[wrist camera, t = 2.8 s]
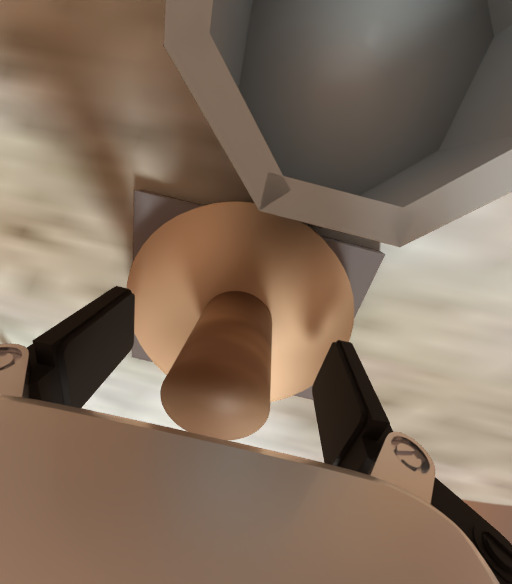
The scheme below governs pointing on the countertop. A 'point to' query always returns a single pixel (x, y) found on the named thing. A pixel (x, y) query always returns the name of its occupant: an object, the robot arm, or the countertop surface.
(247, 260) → the lid
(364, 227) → the bowl
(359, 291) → the mat
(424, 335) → the countertop surface
